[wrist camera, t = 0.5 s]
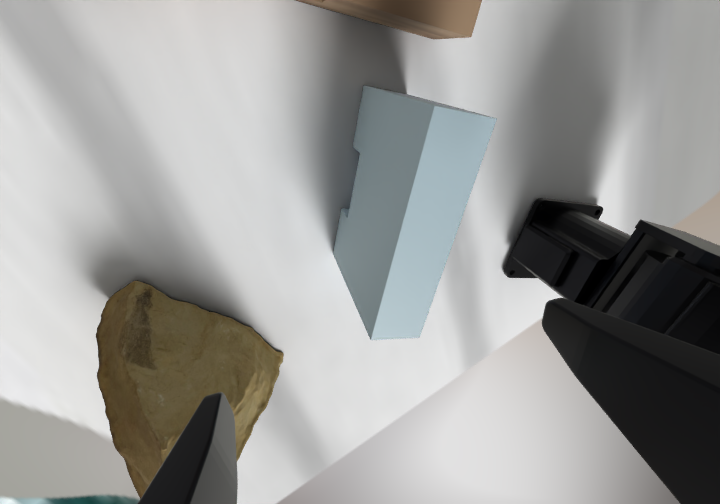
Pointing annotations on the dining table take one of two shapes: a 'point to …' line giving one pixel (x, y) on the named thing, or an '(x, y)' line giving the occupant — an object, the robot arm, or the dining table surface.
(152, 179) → the dining table surface
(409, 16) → the walnut rail
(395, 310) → the blue-grey rectangular slab
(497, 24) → the dining table surface
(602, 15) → the dining table surface
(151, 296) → the rock
